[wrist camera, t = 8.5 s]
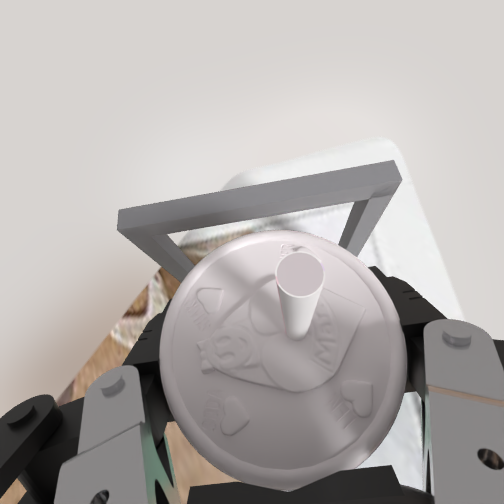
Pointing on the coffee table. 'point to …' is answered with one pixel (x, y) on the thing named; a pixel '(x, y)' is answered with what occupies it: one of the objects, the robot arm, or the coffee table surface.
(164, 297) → the coffee table surface
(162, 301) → the coffee table surface
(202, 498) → the robot arm
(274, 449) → the smoothie
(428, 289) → the coffee table surface
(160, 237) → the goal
